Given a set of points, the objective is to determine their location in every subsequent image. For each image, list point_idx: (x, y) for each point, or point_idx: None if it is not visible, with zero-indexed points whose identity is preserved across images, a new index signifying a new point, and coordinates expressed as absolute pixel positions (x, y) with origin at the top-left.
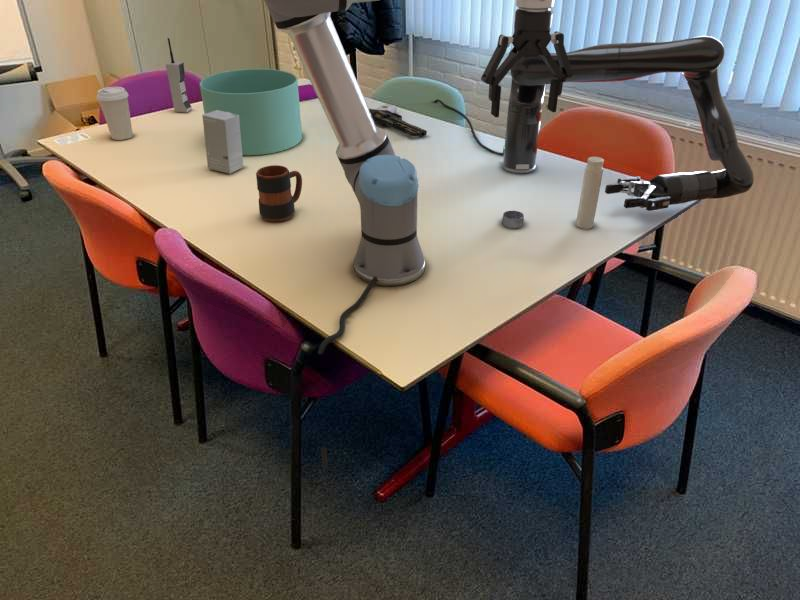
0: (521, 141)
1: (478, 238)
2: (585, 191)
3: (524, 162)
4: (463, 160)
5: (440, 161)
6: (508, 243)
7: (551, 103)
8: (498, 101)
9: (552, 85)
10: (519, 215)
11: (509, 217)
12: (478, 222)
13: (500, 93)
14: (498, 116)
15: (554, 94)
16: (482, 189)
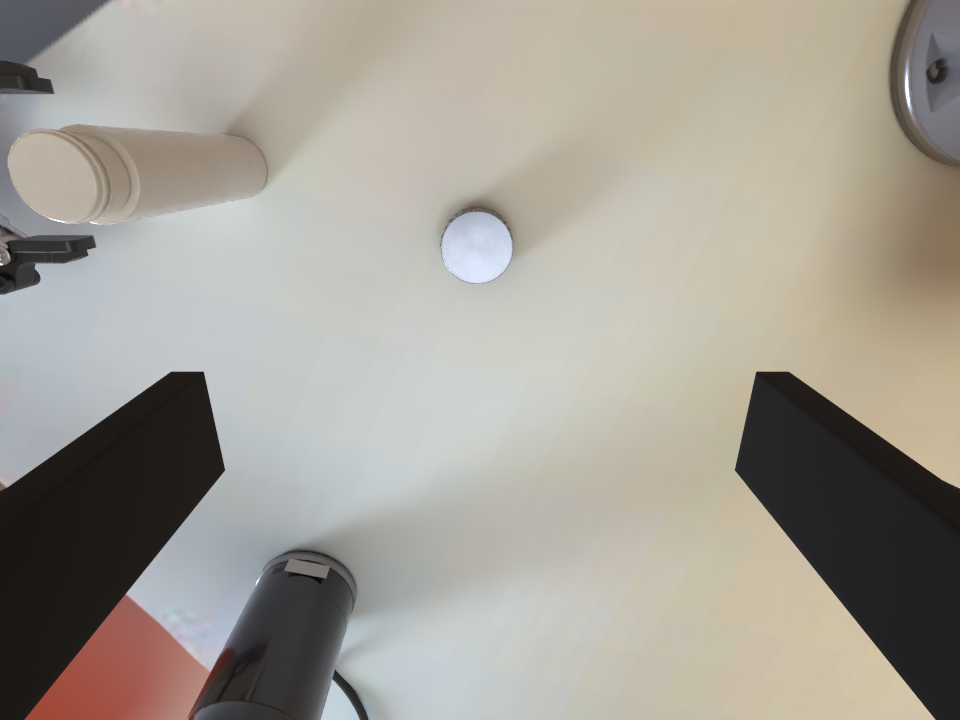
0: (290, 644)
1: (630, 173)
2: (192, 155)
3: (297, 579)
4: (448, 661)
5: (514, 668)
6: (550, 106)
7: (175, 449)
8: (875, 451)
9: (42, 620)
10: (458, 238)
11: (499, 233)
12: (578, 283)
13: (941, 513)
14: (763, 374)
15: (91, 479)
16: (470, 488)
